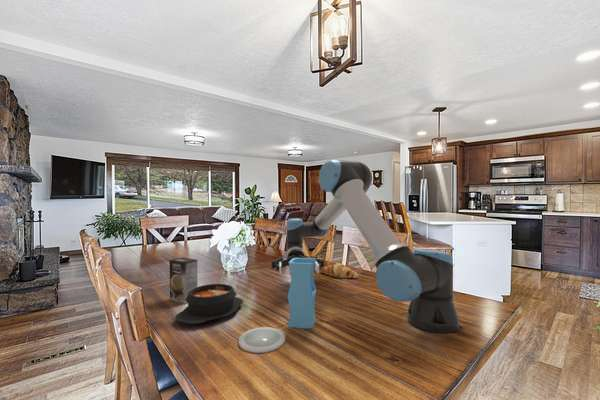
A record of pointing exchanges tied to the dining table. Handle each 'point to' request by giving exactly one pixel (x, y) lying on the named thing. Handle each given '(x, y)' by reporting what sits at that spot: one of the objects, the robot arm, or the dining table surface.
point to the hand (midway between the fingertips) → (299, 269)
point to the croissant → (339, 271)
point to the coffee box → (182, 278)
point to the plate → (261, 339)
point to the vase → (302, 293)
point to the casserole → (209, 303)
